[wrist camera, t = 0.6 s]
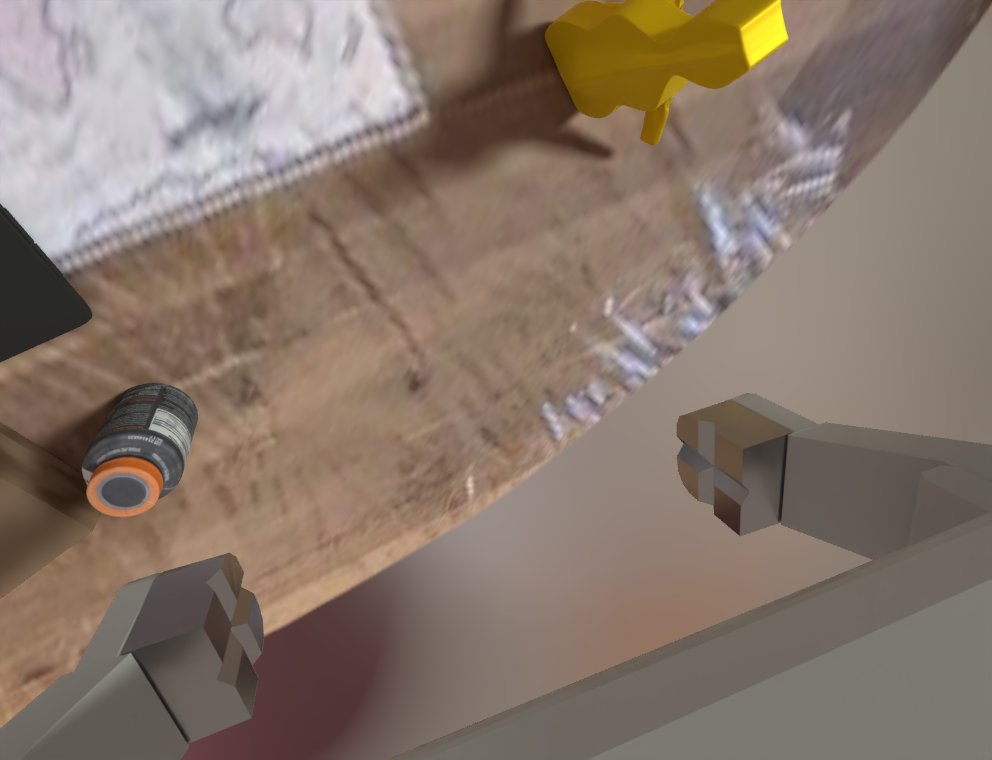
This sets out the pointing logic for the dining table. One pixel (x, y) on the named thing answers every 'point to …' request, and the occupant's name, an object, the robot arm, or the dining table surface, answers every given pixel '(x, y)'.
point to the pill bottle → (139, 450)
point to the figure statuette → (658, 51)
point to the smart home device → (32, 293)
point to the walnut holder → (37, 508)
